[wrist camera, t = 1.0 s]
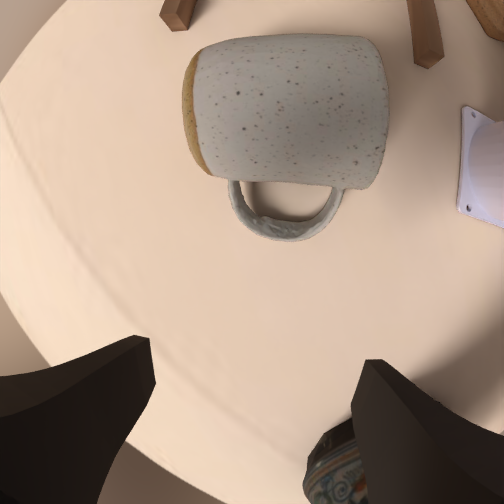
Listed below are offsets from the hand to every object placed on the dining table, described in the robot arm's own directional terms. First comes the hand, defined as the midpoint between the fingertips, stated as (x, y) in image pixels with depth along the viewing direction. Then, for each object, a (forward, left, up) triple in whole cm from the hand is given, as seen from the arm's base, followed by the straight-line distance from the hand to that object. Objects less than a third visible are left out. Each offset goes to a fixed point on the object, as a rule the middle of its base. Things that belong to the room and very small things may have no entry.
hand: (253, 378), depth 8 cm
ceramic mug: (0, -9, -10) cm, 13 cm away
